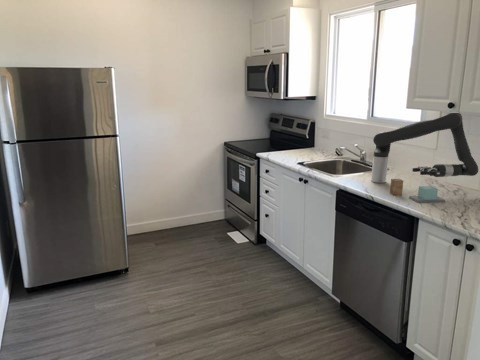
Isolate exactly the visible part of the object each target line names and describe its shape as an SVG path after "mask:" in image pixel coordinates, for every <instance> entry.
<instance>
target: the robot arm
mask: <svg viewBox="0 0 480 360" xmlns="http://www.w3.org/2000/svg"><path fill="white" fill-rule="evenodd" d="M444 130H446V131H447V130H450V132H451V134H452V138H453V143H454V149H455V152H456V156H457V159H458V161H460V162H461V163H459V164H456V163H455V164H448V163H446V164H445V163H442V164H441V163H440V164H434V165H432V167H431V166H417V167H414V168H412V170H411V171H412V172H413V173H418V172H419V175H421V176H430V177H434V178H447V177H458V176H466V177H467V176H468V177H474V176H476V175H478V174H479V173H478V172H479V166H478V164H477V162H476V160H475V159H474V157H473V156H472V153H471V149H470V147H469V143H468V140H467V138H466V134H465V130H464V125H463V115H462V114H461V113H460V112H459V113H449V112H448V113H447V114H445V115H443V116H440V117H438V118H434V119H429V120H427V119H426V120H421V121H415V122H413V123H408V124H405V125H404V126H401V127H399V128H396V129H394V130H389V131H381V132H378V133H376V134H375V135H374V136H373V138H372V139H373V143H374V145H375V149H374V151H373V157H372V158H373V159H372V167H371V178H370V179H371V182H372V183H377V184H383V183H386V181H387V172H388V164H389V163H388V162H389V154H390V151H391V145H392V143H396V142H400V141H407V140H411V139H417V138H420V137H423V136H427V135H430V134H432V133H435V132H440V131H444Z"/></svg>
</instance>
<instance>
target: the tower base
mask: <svg viewBox="0 0 480 360" xmlns="http://www.w3.org/2000/svg"><path fill="white" fill-rule="evenodd" d="M438 192H439V189H438V188H436V187H434V186H431V185H419V186H418V192H417V195H409V198H408V199H410V200H412V201H414V202H415V203H418V204H419V203H426V204H427V203H446V199H445V198H442V197H440V196H438Z"/></svg>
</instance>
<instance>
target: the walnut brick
mask: <svg viewBox="0 0 480 360" xmlns="http://www.w3.org/2000/svg"><path fill="white" fill-rule="evenodd" d="M389 186H390V187H389V194H390V195H392V196H393V197H394V196H395V197H396V196H397V197H398V196H400V197H401V196H402V195H403V189H404V188H403V187H404V180H403V179H401V178H391V179H390V185H389Z"/></svg>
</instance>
